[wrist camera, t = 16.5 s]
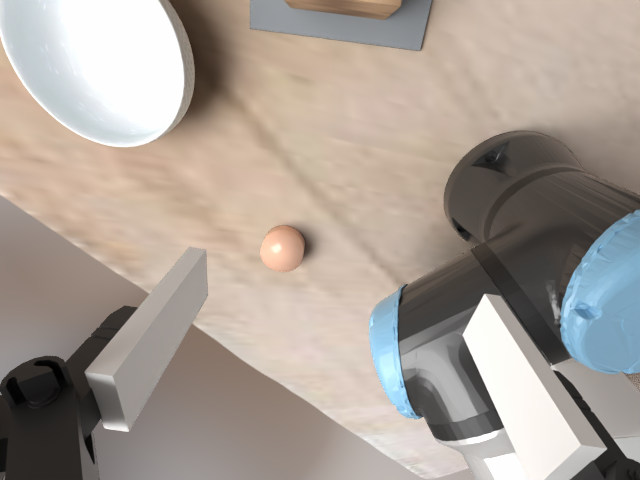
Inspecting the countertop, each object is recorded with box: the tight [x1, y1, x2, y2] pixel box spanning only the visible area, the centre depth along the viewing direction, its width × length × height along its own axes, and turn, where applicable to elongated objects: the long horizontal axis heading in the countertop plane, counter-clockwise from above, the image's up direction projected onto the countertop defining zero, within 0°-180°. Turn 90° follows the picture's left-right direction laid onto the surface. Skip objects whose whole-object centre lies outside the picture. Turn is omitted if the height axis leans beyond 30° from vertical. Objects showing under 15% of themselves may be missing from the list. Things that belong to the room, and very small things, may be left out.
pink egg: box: [260, 226, 305, 272], centre depth 44 cm, size 6×6×3 cm
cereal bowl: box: [0, 0, 195, 147], centre depth 31 cm, size 17×17×7 cm
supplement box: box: [550, 358, 640, 463], centre depth 49 cm, size 9×9×15 cm
